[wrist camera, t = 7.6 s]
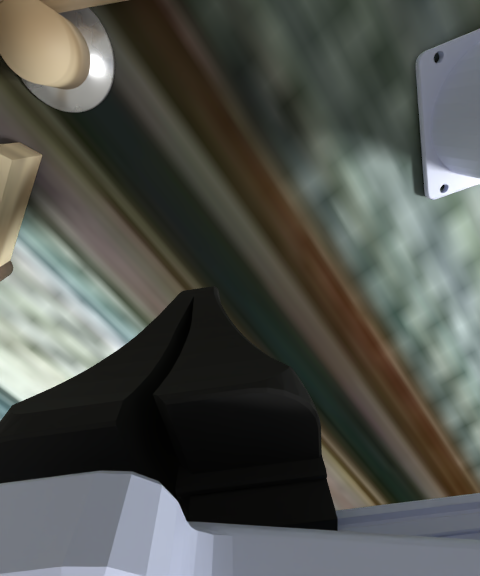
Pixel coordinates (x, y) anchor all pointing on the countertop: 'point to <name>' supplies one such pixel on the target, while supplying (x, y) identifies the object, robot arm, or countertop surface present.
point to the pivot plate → (99, 73)
